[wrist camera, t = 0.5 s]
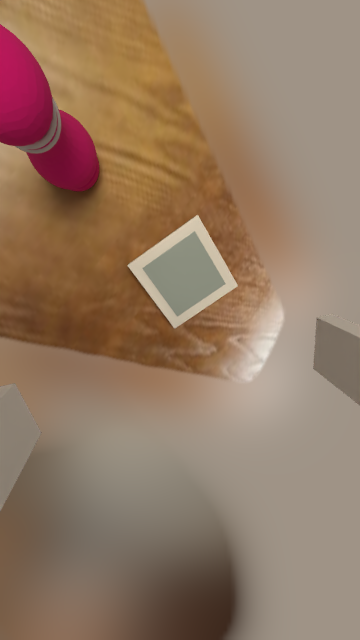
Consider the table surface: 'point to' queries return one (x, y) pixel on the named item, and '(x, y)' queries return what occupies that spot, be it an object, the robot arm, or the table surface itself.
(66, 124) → the pepper mill
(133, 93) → the table surface
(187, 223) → the base
